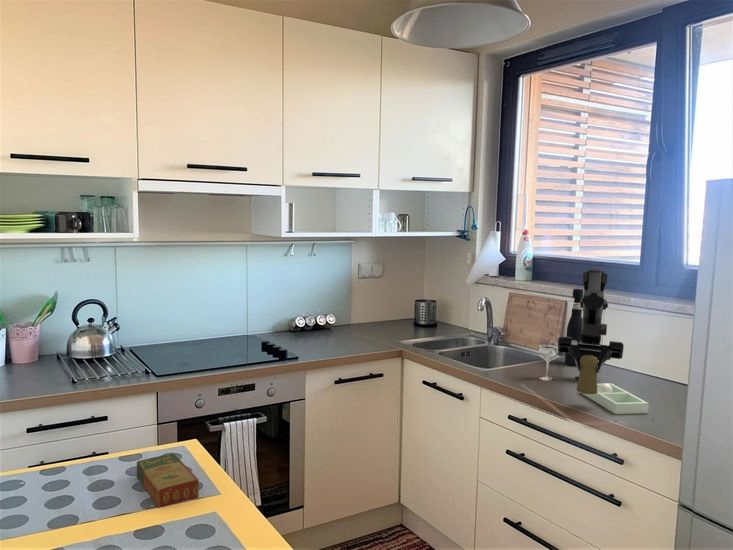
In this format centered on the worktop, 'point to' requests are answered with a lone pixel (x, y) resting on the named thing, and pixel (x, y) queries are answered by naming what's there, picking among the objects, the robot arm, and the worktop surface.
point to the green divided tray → (619, 401)
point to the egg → (605, 388)
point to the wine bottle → (574, 324)
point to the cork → (588, 375)
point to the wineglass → (548, 355)
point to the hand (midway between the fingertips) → (588, 371)
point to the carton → (167, 480)
